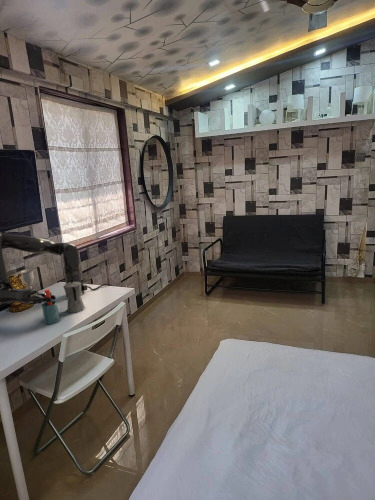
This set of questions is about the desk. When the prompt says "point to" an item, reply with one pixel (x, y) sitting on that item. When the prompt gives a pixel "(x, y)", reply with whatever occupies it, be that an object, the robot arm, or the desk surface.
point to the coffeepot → (74, 296)
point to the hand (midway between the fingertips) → (52, 298)
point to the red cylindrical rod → (47, 294)
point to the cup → (50, 313)
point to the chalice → (28, 277)
